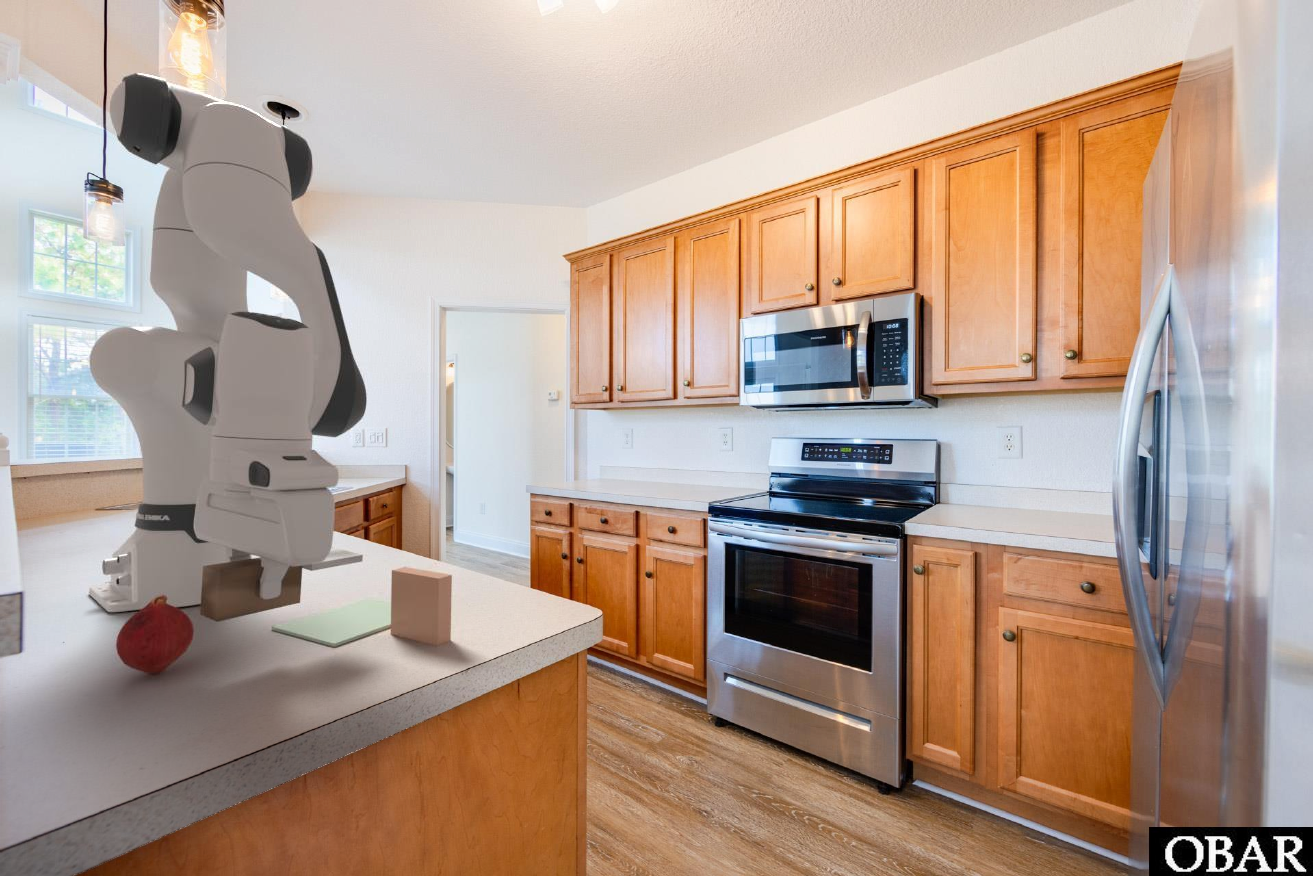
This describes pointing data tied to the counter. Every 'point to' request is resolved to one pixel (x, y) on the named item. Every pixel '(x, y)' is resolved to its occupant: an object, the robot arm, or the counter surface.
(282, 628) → the plate
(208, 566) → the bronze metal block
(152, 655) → the onion
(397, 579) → the tile
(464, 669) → the counter surface
